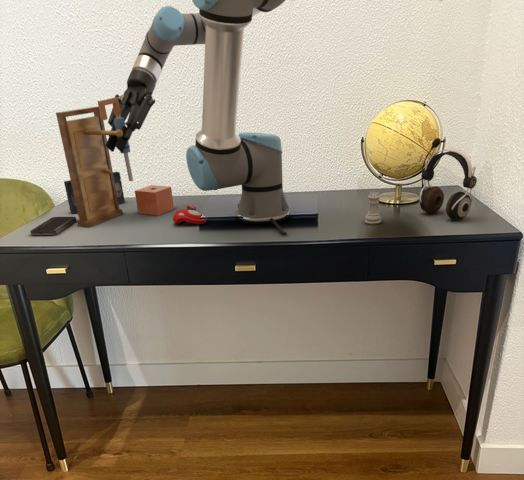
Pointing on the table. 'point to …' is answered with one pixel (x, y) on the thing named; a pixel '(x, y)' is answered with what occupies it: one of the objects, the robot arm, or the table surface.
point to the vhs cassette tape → (72, 200)
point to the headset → (434, 195)
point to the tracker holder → (188, 215)
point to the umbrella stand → (154, 200)
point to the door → (89, 165)
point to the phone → (53, 226)
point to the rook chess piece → (373, 209)
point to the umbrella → (116, 126)
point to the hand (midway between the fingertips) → (114, 148)
